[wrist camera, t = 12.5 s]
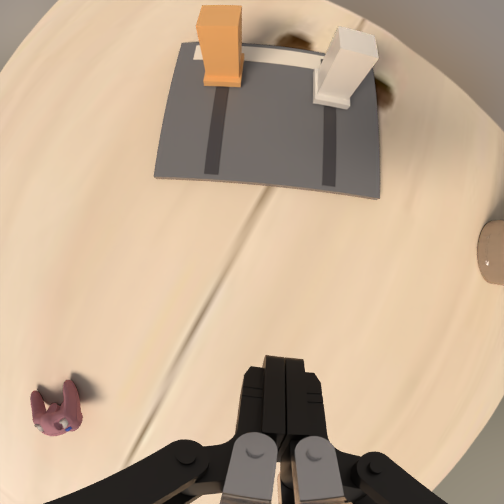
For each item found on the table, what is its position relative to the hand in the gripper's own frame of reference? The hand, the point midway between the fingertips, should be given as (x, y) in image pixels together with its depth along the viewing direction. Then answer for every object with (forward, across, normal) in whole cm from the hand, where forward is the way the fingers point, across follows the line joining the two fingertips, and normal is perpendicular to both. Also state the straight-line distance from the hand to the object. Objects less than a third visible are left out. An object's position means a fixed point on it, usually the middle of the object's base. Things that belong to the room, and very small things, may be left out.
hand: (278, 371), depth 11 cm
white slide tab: (+25, -4, -15) cm, 30 cm away
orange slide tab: (+25, +8, -15) cm, 30 cm away
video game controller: (+9, +25, +26) cm, 37 cm away
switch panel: (+25, +2, -11) cm, 28 cm away
